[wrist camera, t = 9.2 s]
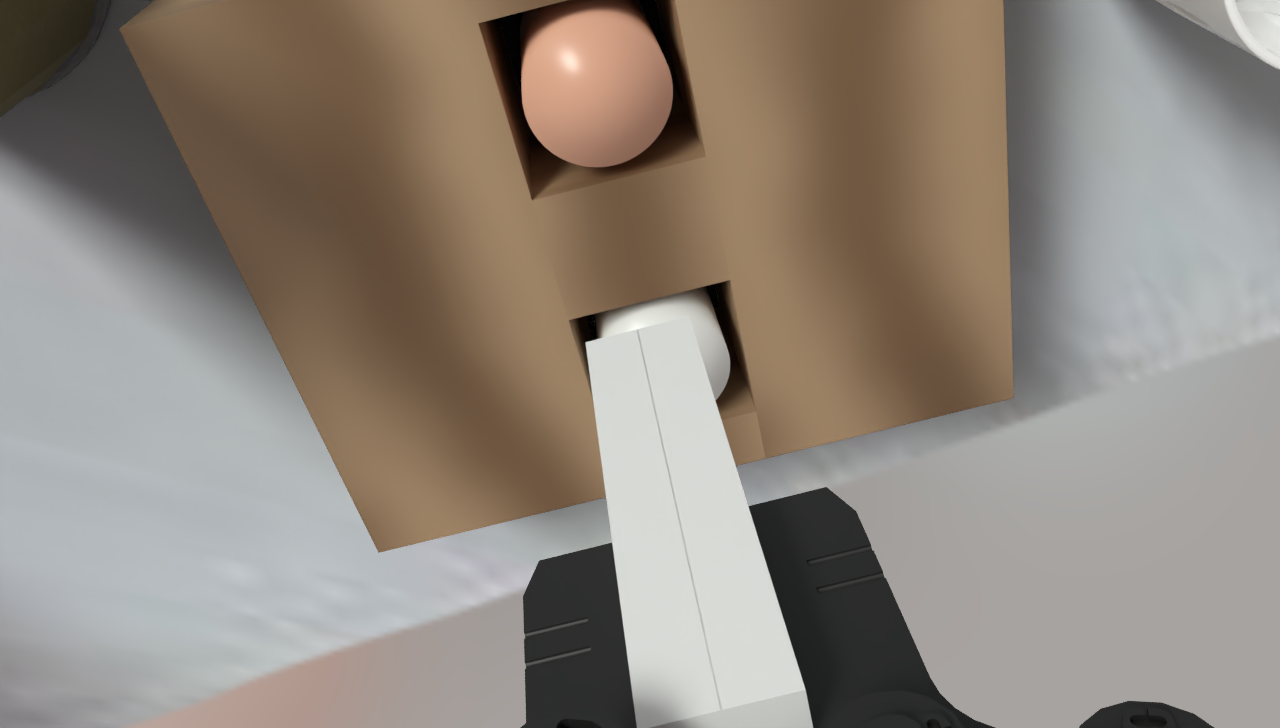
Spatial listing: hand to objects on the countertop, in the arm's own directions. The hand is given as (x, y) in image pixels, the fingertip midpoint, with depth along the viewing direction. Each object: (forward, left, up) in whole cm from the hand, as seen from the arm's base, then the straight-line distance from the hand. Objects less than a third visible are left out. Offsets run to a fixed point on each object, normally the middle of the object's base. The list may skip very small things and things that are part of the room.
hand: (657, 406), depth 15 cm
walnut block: (0, -5, -22) cm, 22 cm away
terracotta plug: (0, 0, -21) cm, 21 cm away
